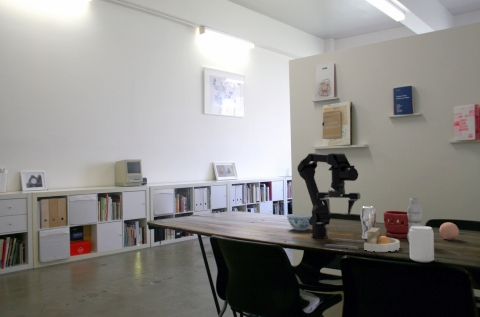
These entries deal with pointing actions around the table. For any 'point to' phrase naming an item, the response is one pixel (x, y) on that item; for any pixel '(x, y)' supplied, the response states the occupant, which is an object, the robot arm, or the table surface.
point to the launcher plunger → (373, 235)
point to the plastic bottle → (414, 214)
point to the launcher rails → (345, 241)
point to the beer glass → (367, 219)
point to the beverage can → (421, 243)
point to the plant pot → (396, 224)
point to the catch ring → (383, 246)
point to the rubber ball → (383, 240)
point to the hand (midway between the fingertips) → (338, 214)
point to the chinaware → (299, 221)
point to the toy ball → (449, 231)
